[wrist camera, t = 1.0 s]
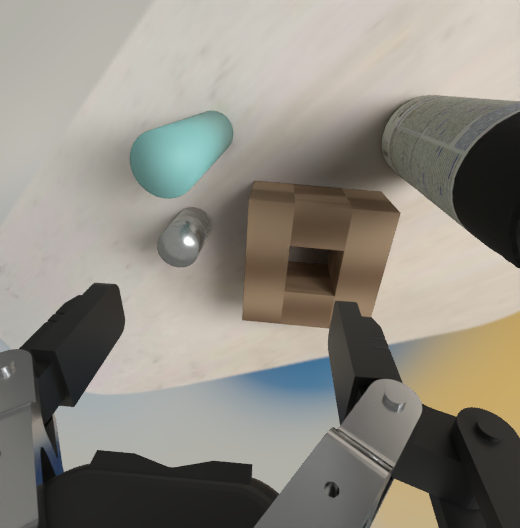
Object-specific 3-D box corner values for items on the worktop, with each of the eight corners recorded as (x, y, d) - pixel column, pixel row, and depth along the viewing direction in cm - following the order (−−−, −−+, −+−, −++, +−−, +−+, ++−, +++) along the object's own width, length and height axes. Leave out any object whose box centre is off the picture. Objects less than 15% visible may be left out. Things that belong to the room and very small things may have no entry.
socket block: (254, 180, 32) (248, 199, 27) (381, 191, 32) (400, 213, 26) (248, 287, 37) (242, 320, 32) (355, 297, 37) (366, 332, 32)
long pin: (193, 109, 29) (126, 126, 17) (233, 112, 29) (196, 132, 17) (194, 151, 31) (133, 195, 19) (232, 155, 31) (197, 201, 18)
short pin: (175, 205, 34) (155, 228, 28) (211, 208, 33) (197, 232, 28) (177, 238, 35) (158, 265, 30) (211, 241, 35) (198, 269, 30)
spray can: (431, 185, 31) (625, 317, 13) (364, 161, 30) (475, 266, 13) (475, 111, 28) (803, 154, 10) (402, 82, 27) (615, 76, 10)
